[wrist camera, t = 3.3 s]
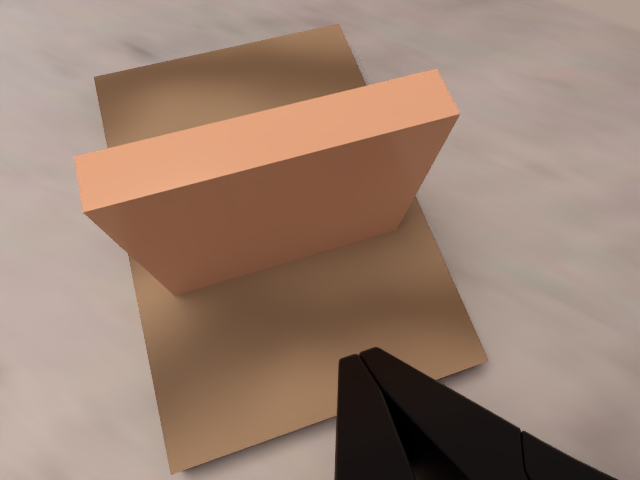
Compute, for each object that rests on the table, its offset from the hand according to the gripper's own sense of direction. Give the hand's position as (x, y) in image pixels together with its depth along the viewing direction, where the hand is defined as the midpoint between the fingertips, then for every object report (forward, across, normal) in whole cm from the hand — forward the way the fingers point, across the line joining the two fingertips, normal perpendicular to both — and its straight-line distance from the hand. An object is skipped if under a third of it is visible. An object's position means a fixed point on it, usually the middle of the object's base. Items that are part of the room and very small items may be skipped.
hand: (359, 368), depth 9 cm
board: (+13, 0, +2) cm, 13 cm away
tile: (+11, 0, +2) cm, 11 cm away
